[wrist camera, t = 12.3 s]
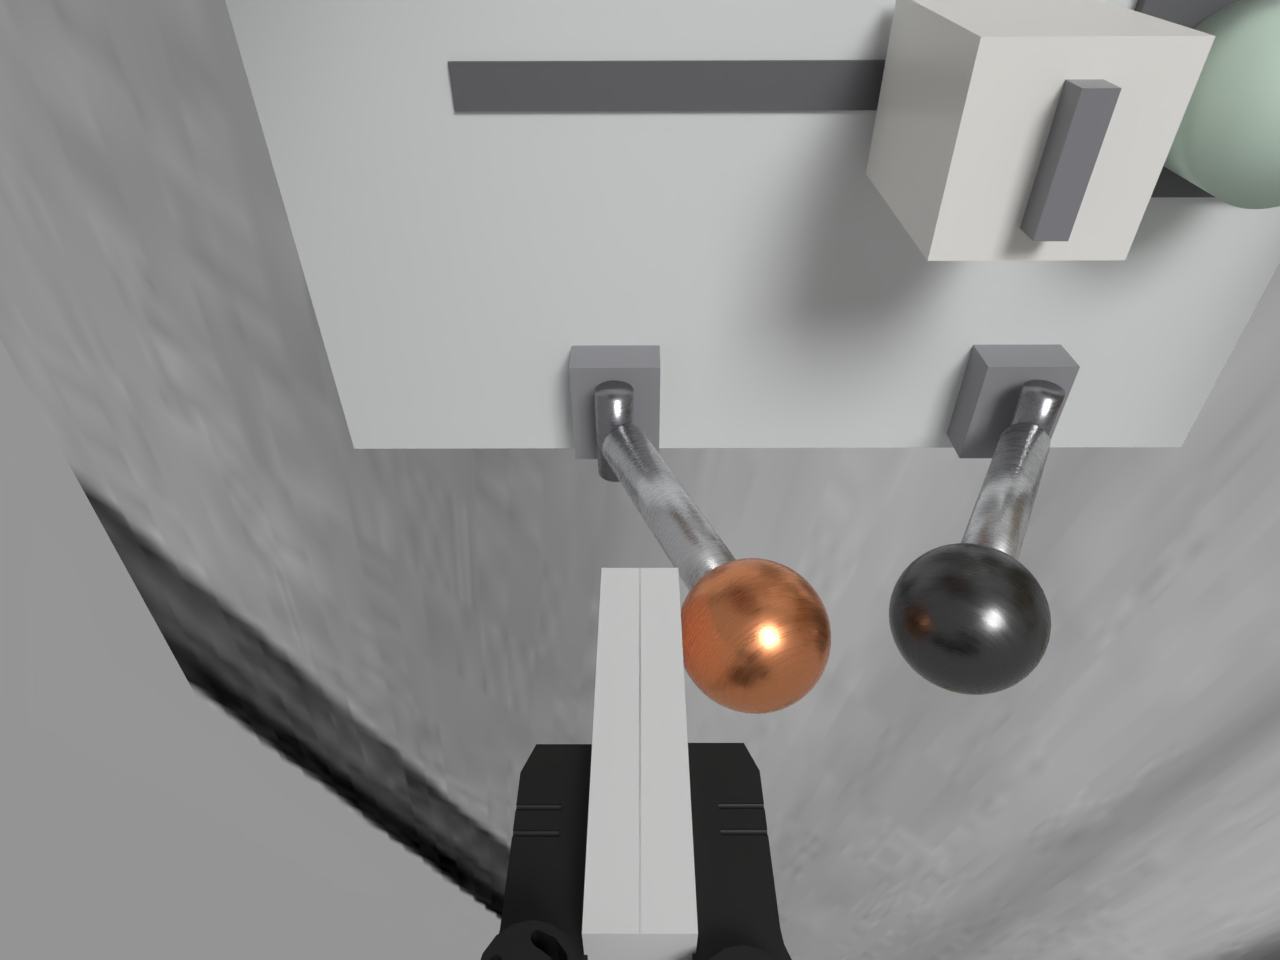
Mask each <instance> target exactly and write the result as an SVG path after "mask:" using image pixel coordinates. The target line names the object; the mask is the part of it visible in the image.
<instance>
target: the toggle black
mask: <svg viewBox="0 0 1280 960" xmlns="http://www.w3.org/2000/svg"><path fill="white" fill-rule="evenodd" d="M1064 397H1065V391H1064V389H1063V388H1061V387H1060V386H1059V385H1057V384H1055V383H1052V382H1049V381H1046V380H1037V379H1036V380H1029V381H1026V382H1025V383H1024V384H1023V387H1022V390H1021V393H1020V396H1019V399H1018V401H1017V404H1016V407H1015V410H1014V413H1013V415H1012V418H1011V421H1010V424H1009V427H1008V428H1006V429H1005V430H1004V431H1003V433H1002V434H1001V436H1000V439H999V442H998V444H997V447H996V450H995V452H994V455H993V458H992V460H991V463H990V466H989V468H988V471H987V474H986V476H985V479H984V482H983V484H982V487H981V490H980V492H979V495H978V498H977V500H976V503H975V506H974V508H973V511H972V514H971V516H970V519H969V522H968V524H967V527H966V530H965V532H964V535H963V538H962V540H961V543H956V544H948V545H944V546H940V547H937V548H935V549H932V550H930V551H928V552H926V553H924V554H922V555H921V556H920V557H918V558H917V559H916V560H914V561H913V562H912V563H911V564H910V565H909V566H908V567H907V568H906V569H905V570H904V571H903V572H902V574H901V576H900V577H899V579H898V580H897V582H896V584H895V586H894V589H893V592H892V595H891V599H890V605H889V624H890V629H891V633H892V636H893V639H894V642H895V644H896V646H897V648H898V650H899V652H900V654H901V655H902V657H903V658H904V660H905V661H906V662H907V663H908V664H909V665H910V667H911V668H912V669H913V670H914V671H915V672H916V673H918V674H919V675H920V676H921V677H923V678H924V679H926V680H927V681H929V682H930V683H932V684H934V685H936V686H938V687H940V688H943V689H945V690H948V691H952V692H955V693H960V694H967V695H983V694H991V693H996V692H999V691H1002V690H1005V689H1007V688H1010V687H1012V686H1014V685H1016V684H1017V683H1019V682H1020V681H1022V680H1023V679H1024V678H1026V677H1027V676H1028V675H1029V674H1030V673H1031V672H1032V671H1033V670H1034V669H1035V668H1036V667H1037V665H1038V664H1039V662H1040V661H1041V659H1042V657H1043V656H1044V654H1045V651H1046V649H1047V646H1048V643H1049V639H1050V633H1051V615H1050V609H1049V605H1048V602H1047V599H1046V596H1045V594H1044V591H1043V589H1042V588H1041V586H1040V585H1039V583H1038V581H1037V580H1036V578H1035V577H1034V576H1033V575H1032V573H1031V572H1030V571H1029V570H1028V569H1027V568H1026V567H1025V566H1024V565H1022V564H1021V563H1020V562H1019V561H1018V558H1019V555H1020V551H1021V548H1022V544H1023V540H1024V537H1025V533H1026V530H1027V526H1028V523H1029V519H1030V516H1031V512H1032V509H1033V505H1034V502H1035V498H1036V495H1037V491H1038V488H1039V484H1040V481H1041V477H1042V474H1043V470H1044V467H1045V463H1046V460H1047V456H1048V453H1049V449H1050V439H1049V435H1050V432H1051V430H1052V427H1053V424H1054V422H1055V419H1056V417H1057V414H1058V412H1059V409H1060V407H1061V404H1062V402H1063V399H1064Z"/></svg>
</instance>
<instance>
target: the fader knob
mask: <svg viewBox="0 0 1280 960" xmlns="http://www.w3.org/2000/svg"><path fill="white" fill-rule="evenodd" d="M1215 37H1216V36H1214V35H1211V34H1208V33H1204V32H1201V31H1198V30H1195V29H1192V28H1188V27H1185V26H1182V25H1179V24H1176V23H1172V22H1169V21H1166V20H1163V19H1160V18H1156V17H1153V16H1150V15H1147V14H1144V13H1140V12H1137V11H1134V10H1131V9H1128V8H1124V7H1121V6H1118V5H1115V4H1112V3H1108V2H1105V1H1102V0H896V3H895V9H894V15H893V20H892V26H891V32H890V38H889V43H888V49H887V55H886V61H885V67H884V72H883V78H882V84H881V90H880V95H879V101H878V107H877V113H876V118H875V124H874V130H873V136H872V141H871V147H870V153H869V159H868V164H867V170H866V175H867V176H868V177H869V179H870V180H871V182H872V183H873V185H874V186H875V187H876V189H877V190H878V192H879V193H880V194H881V196H882V197H883V199H884V200H885V201H886V203H887V204H888V206H889V207H890V208H891V210H892V211H893V213H894V214H895V216H896V217H897V218H898V220H899V221H900V223H901V224H902V225H903V227H904V228H905V230H906V231H907V232H908V234H909V235H910V237H911V238H912V239H913V241H914V242H915V244H916V245H917V247H918V248H919V249H920V251H921V252H922V254H923V255H924V256H925V258H926V259H927V261H1069V260H1126V257H1127V255H1128V252H1129V250H1130V247H1131V245H1132V242H1133V240H1134V237H1135V235H1136V232H1137V230H1138V227H1139V225H1140V222H1141V220H1142V217H1143V215H1144V212H1145V210H1146V208H1147V205H1148V203H1149V200H1150V198H1151V195H1152V193H1153V190H1154V188H1155V185H1156V183H1157V180H1158V178H1159V175H1160V173H1161V170H1162V168H1163V165H1164V163H1165V160H1166V158H1167V155H1168V153H1169V151H1170V148H1171V146H1172V143H1173V141H1174V138H1175V136H1176V133H1177V131H1178V128H1179V126H1180V123H1181V121H1182V118H1183V116H1184V113H1185V111H1186V108H1187V106H1188V103H1189V101H1190V98H1191V96H1192V94H1193V91H1194V89H1195V86H1196V84H1197V81H1198V79H1199V76H1200V74H1201V71H1202V69H1203V66H1204V64H1205V61H1206V59H1207V56H1208V54H1209V51H1210V49H1211V46H1212V44H1213V41H1214V39H1215Z"/></svg>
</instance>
